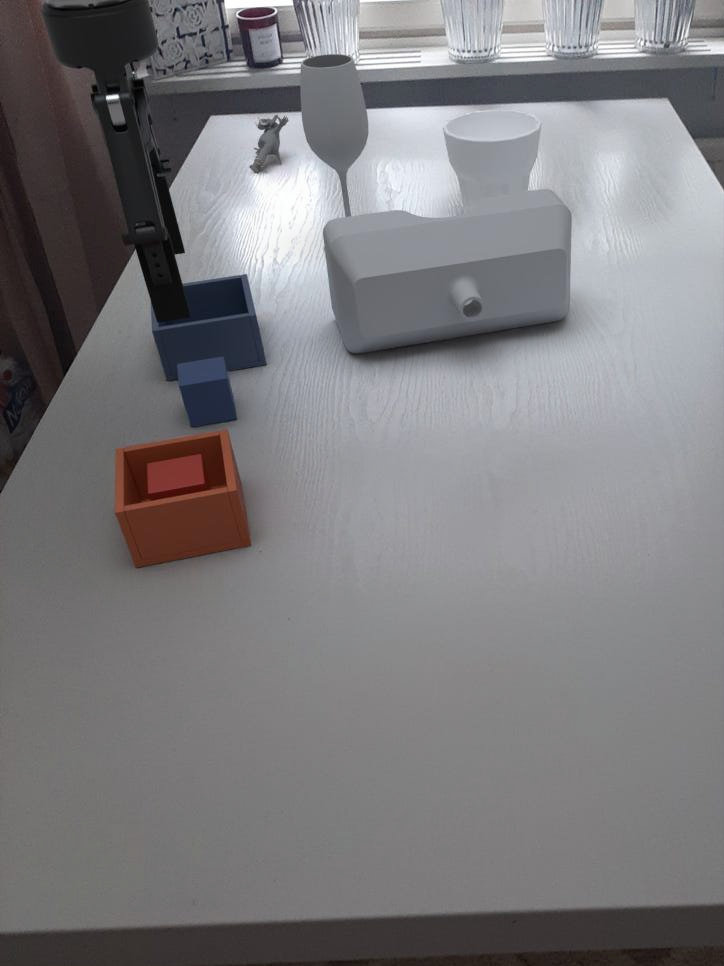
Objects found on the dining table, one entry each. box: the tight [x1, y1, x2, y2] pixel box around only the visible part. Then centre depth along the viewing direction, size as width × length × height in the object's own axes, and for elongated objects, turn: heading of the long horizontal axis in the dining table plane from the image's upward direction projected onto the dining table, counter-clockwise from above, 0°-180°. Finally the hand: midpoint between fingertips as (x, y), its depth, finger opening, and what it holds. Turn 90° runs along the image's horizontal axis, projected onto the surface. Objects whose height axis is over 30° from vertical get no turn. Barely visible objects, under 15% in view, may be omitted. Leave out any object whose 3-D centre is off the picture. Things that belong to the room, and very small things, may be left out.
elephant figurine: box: [249, 114, 290, 174], centre depth 146 cm, size 10×6×9 cm
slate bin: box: [150, 273, 268, 382], centre depth 103 cm, size 10×10×6 cm
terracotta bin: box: [114, 428, 252, 569], centre depth 81 cm, size 9×9×6 cm
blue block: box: [177, 357, 238, 428], centre depth 94 cm, size 4×4×4 cm
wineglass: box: [299, 53, 369, 252], centre depth 116 cm, size 8×8×21 cm
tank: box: [322, 188, 573, 354], centre depth 101 cm, size 25×16×12 cm, turn 105°
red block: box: [147, 454, 212, 501], centre depth 81 cm, size 4×4×4 cm
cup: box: [442, 109, 542, 214], centre depth 125 cm, size 12×12×11 cm
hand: (171, 284), depth 84 cm, fingers open, 13 cm apart
